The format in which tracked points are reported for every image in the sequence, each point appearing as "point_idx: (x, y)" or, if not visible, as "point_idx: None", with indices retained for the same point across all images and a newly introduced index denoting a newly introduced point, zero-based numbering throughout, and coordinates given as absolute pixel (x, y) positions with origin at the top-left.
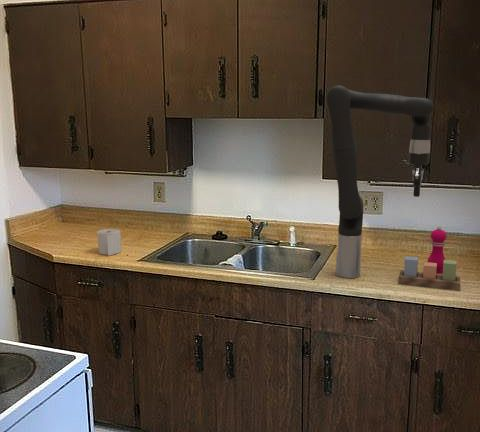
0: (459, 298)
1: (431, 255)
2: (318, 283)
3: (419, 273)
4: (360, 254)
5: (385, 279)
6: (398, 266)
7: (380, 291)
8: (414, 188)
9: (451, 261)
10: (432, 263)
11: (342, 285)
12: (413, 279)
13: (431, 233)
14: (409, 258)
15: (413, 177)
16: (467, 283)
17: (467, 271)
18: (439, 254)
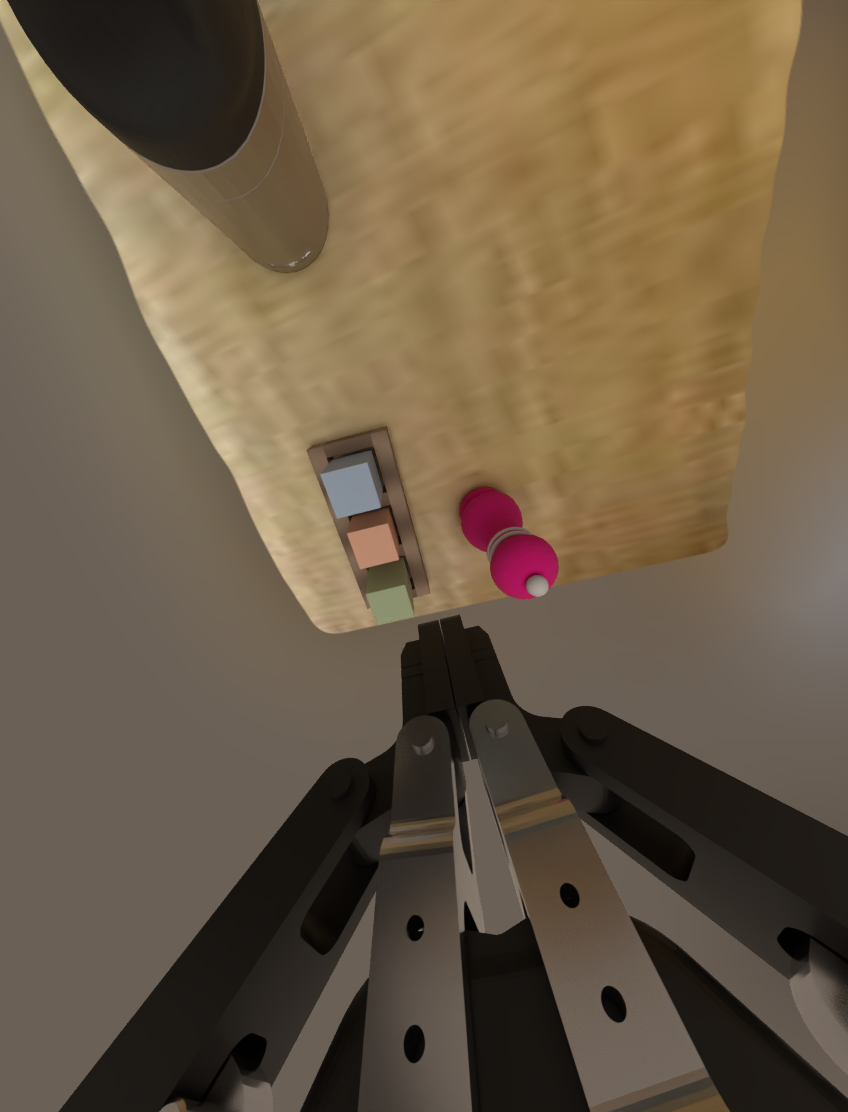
0: (316, 609)
1: (484, 518)
2: (53, 106)
3: (385, 496)
4: (256, 235)
5: (329, 388)
6: (503, 374)
7: (202, 420)
8: (427, 700)
9: (398, 606)
10: (386, 549)
11: (136, 250)
12: (325, 496)
13: (516, 547)
14: (343, 486)
15: (71, 1097)
16: (439, 595)
17: None
18: (484, 547)
